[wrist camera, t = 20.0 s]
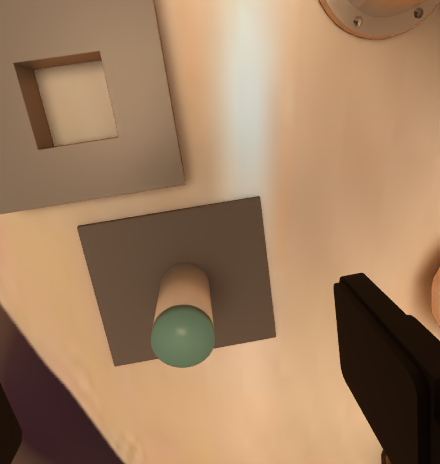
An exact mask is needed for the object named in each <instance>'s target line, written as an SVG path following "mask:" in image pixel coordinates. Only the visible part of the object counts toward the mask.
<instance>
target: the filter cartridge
mask: <svg viewBox="0 0 440 464" xmlns="http://www.w3.org/2000/svg"><path fill="white" fill-rule="evenodd" d="M214 343H215V335H214V326H213V316H212V307H211V297H210V288H209V280H208V277H207V275H206V273H205V272H204V271H203V270H202V269H201V268H200V267H198V266H196V265H194V264H190V263H180V264H177V265H174V266H172V267H170V268H169V269H168V270H167V271H166V272H165V273H164V275H163V277H162V280H161V285H160V290H159V296H158V301H157V306H156V312H155V317H154V323H153V328H152V334H151V346H152V349H153V352H154V353H155V355H156V356H157V357H158V358H159V359H160V360H161V361H162V362H164V363H166V364H167V365H170V366H173V367H179V368H185V367H191V366H194V365H197V364H199V363H201V362H202V361H204V360H205V359H206V358H207V357H208V356H209V355H210V353H211V352H212V350H213V347H214Z"/></svg>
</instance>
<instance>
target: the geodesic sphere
mask: <svg viewBox="0 0 440 464" xmlns="http://www.w3.org/2000/svg"><path fill="white" fill-rule="evenodd" d="M431 291H432V314H433V316H434V318H435V319H436V321H437V323H438V324H439V326H440V268H439V269H438V271H437V273H436V274H435V276H434V278H433V282H432V289H431Z"/></svg>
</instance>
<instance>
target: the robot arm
mask: <svg viewBox="0 0 440 464" xmlns="http://www.w3.org/2000/svg"><path fill="white" fill-rule="evenodd" d="M319 1H320V3H321V4H322V6H323V8H324V9H325V11H326V13H327V14H328V15H329V16H330V18H331V19H332V20H333V21H334V22H335V23H336V24H337V25H338V26H340V27H341V28H343V29H344V30H345V31H347V32H349V33H351V34H353V35H356V36H358V37H363V38H368V39H384V38H388V37H392V36H396V35H398V34H401V33H403V32H406V31H408V30H410V29H411V28H413V27H415V26H416V25H418V24H419V23H421V22H422V21H423V20H424V19H425V18H426V17H427V16H429V15H430V14H431V13H432V11H433V10H434V9H435V8H436V6H437V5H438V4H439V3H440V0H319ZM414 14H415V17H414ZM353 21H355V22H356V26H354V23H353ZM334 298H335V309H336V320H337V331H338V342H339V353H340V364H341V370H342V374H343V377H344V379H345V381H346V383H347V385H348V387H349V389H350V390H351V392H352V394H353V396H354V398H355V399H356V401H357V403H358V405H359V407H360V408H361V410H362V412H363V414H364V416H365V417H366V419H367V421H368V423H369V424H370V426H371V428H372V430H373V432H374V433H375V435H376V437H377V439H378V441H379V442H380V444H381V446H382V448H383V450H384V451H385V453H386V455H387V457H388V459H389V460H390V462H391V464H440V341H439V340H438V339H437V338H436V337H435V336H434V335H433V334H432V333H431V332H430V331H429V330H428V329H426V328H425V327H424V326H423V325H422V324H421V323H420V322H419V321H418V320H417V319H416V318H414V317H413V316H412V315H406V314H405V313H404V312H403V311H402V310H401V309H400V308H399V307H398V306H397V305H396V304H395V303H394V302H393V301H392V300H391V299H390V298H389V297H388V296H387V295H386V294H384V293H383V292H382V291H381V290H380V289H379V288H378V287H377V286H376V285H375V284H374V283H373V282H372V281H371V280H370V279H369V278H368V277H367V276H366V275H365V274H364V273H357V274H352V275H347V276H342V277H340V281H339V283H335V284H334ZM21 441H22V431H21V428H20V425H19V423H18V421H17V419H16V417H15V415H14V412H13V410H12V408H11V406H10V404H9V401H8V399H7V397H6V395H5V392H4V390H3V388H2V386H1V384H0V464H11V462H12V460H13V458H14V456H15V454H16V452H17V450H18V448H19V446H20V444H21Z"/></svg>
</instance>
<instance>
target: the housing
mask: <svg viewBox="0 0 440 464" xmlns="http://www.w3.org/2000/svg"><path fill="white" fill-rule="evenodd" d="M97 60H102V64H103V68H104V73H105V77H106V82H107V86H108V91H109V95H110V100H111V105H112V109H113V114H114V118H115V123H116V127H117V132H118V137H114V138H108V139H101V140H95V141H88V142H81V143H75V144H68V145H62V146H55V147H54V145H53V141H52V137H51V134H50V130H49V126H48V123H47V119H46V115H45V112H44V108H43V104H42V101H41V97H40V93H39V90H38V86H37V82H36V78H35V75H34V71H33V70H34V69H41V68H48V67H55V66H62V65H69V64H76V63H83V62H90V61H97ZM179 185H185V177H184V171H183V165H182V160H181V154H180V148H179V142H178V137H177V131H176V125H175V119H174V114H173V108H172V102H171V96H170V91H169V85H168V79H167V73H166V68H165V62H164V56H163V50H162V44H161V39H160V33H159V27H158V21H157V16H156V10H155V4H154V0H0V214H5V213H11V212H17V211H24V210H30V209H36V208H42V207H49V206H55V205H61V204H67V203H73V202H80V201H86V200H92V199H98V198H105V197H111V196H117V195H123V194H130V193H136V192H142V191H148V190H154V189H161V188H167V187H173V186H179Z"/></svg>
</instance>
